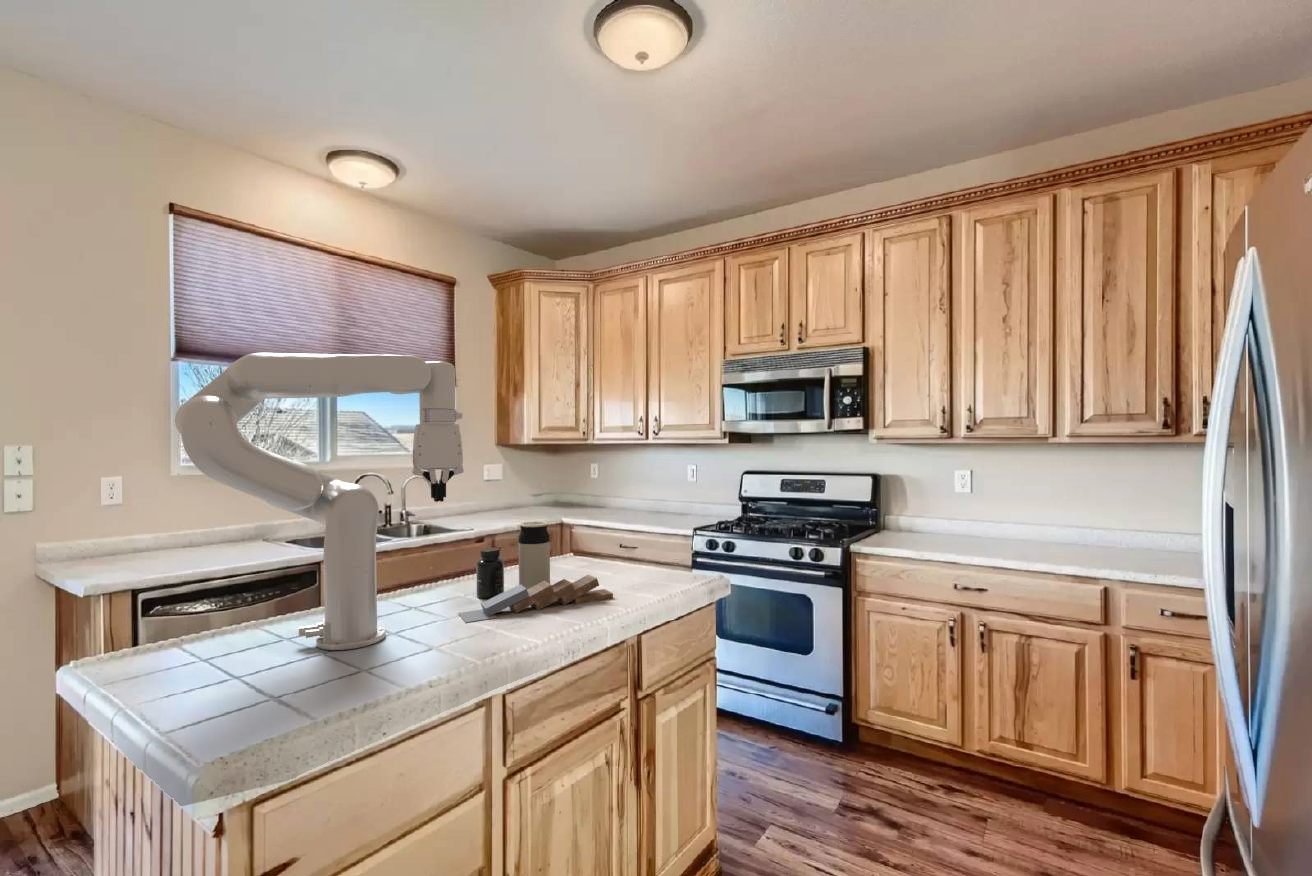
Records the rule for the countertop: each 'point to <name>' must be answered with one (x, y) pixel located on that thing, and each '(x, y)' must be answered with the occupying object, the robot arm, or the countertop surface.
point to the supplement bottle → (490, 574)
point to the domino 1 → (504, 600)
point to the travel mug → (534, 553)
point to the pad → (475, 616)
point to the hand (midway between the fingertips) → (438, 500)
